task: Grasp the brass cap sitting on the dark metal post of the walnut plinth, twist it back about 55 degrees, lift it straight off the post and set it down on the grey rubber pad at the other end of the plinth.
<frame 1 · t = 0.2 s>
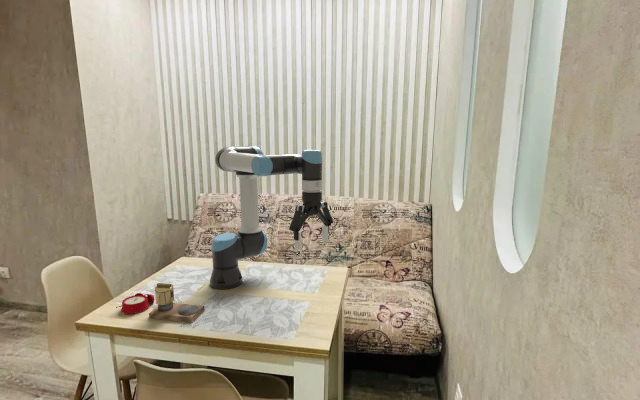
hand: (312, 244, 144), 28 cm above the table, fingers open, 13 cm apart
cap: (165, 301, 146), point 5 cm above the table, touching post plinth
post plinth: (177, 314, 146), on the table
alarm clock: (138, 307, 153), on the table
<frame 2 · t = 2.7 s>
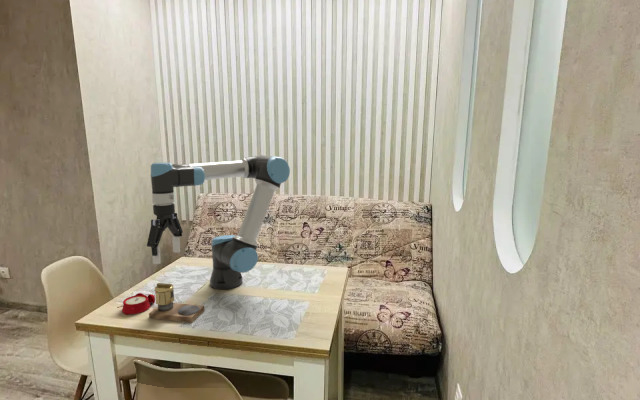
hand: (167, 257, 143), 23 cm above the table, fingers open, 13 cm apart
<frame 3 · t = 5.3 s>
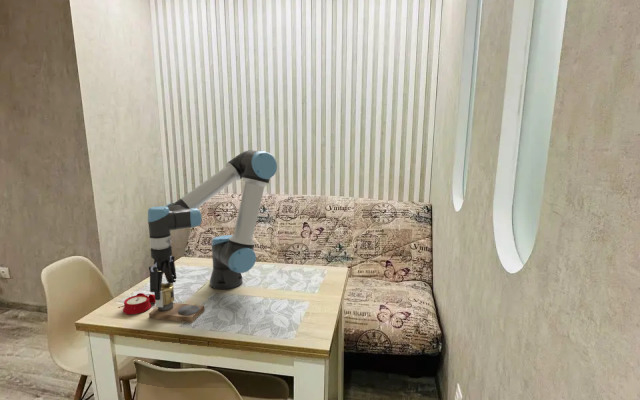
hand: (165, 302, 147), 5 cm above the table, fingers closed on cap, 7 cm apart
cap: (165, 301, 146), point 5 cm above the table, touching gripper, post plinth
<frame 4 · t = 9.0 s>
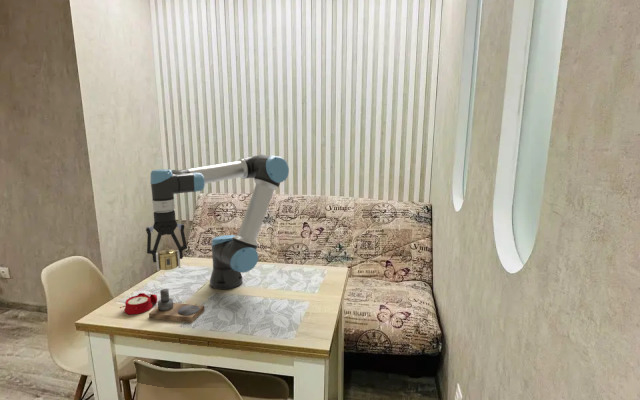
hand: (168, 268, 144), 19 cm above the table, fingers closed on cap, 7 cm apart
cap: (168, 267, 144), point 19 cm above the table, touching gripper
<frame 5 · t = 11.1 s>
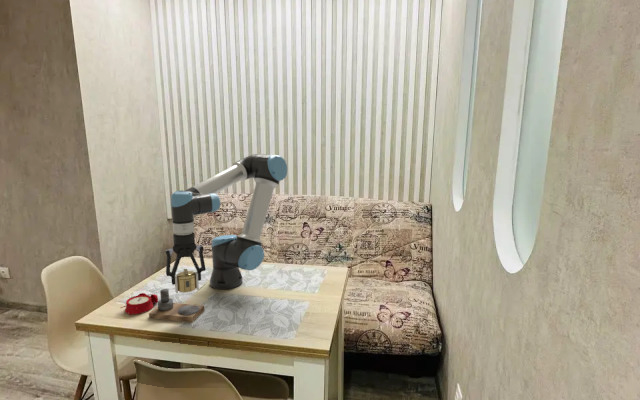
hand: (187, 290, 144), 11 cm above the table, fingers closed on cap, 7 cm apart
cap: (187, 288, 143), point 11 cm above the table, touching gripper
when the fingers open (3 cm above the table, at t = 12.9 s): cap drops 1 cm, resting on post plinth.
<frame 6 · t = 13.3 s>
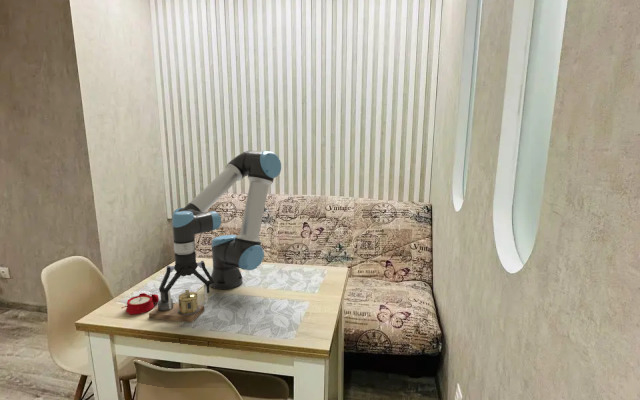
hand: (188, 304, 145), 5 cm above the table, fingers open, 13 cm apart
cap: (188, 309, 145), point 2 cm above the table, touching post plinth
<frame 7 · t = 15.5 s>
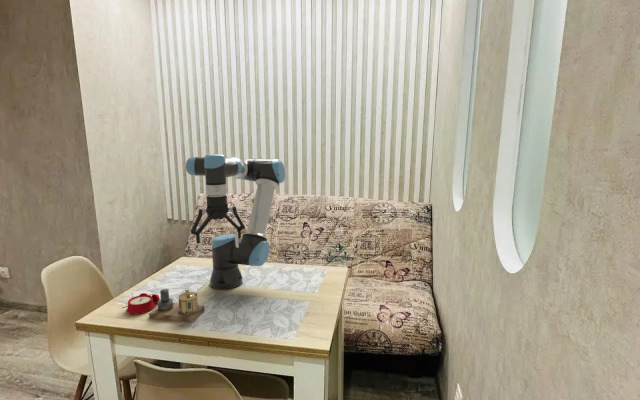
hand: (219, 248, 144), 26 cm above the table, fingers open, 13 cm apart
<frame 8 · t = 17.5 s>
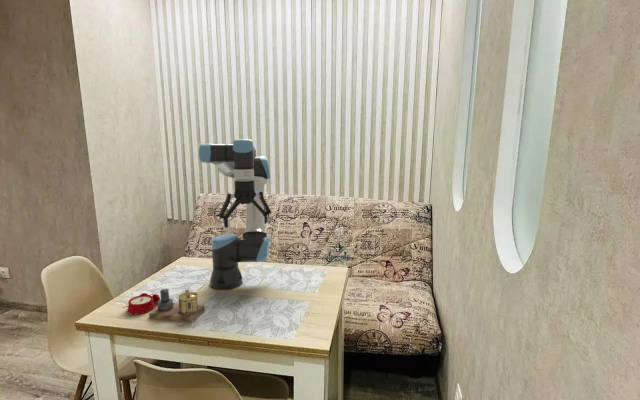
hand: (246, 233, 146), 32 cm above the table, fingers open, 13 cm apart
at the end: cap inside the target area (0.0 cm from its centre), point 2.3 cm above the table; cap tilted 0°; the gripper is holding nothing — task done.
